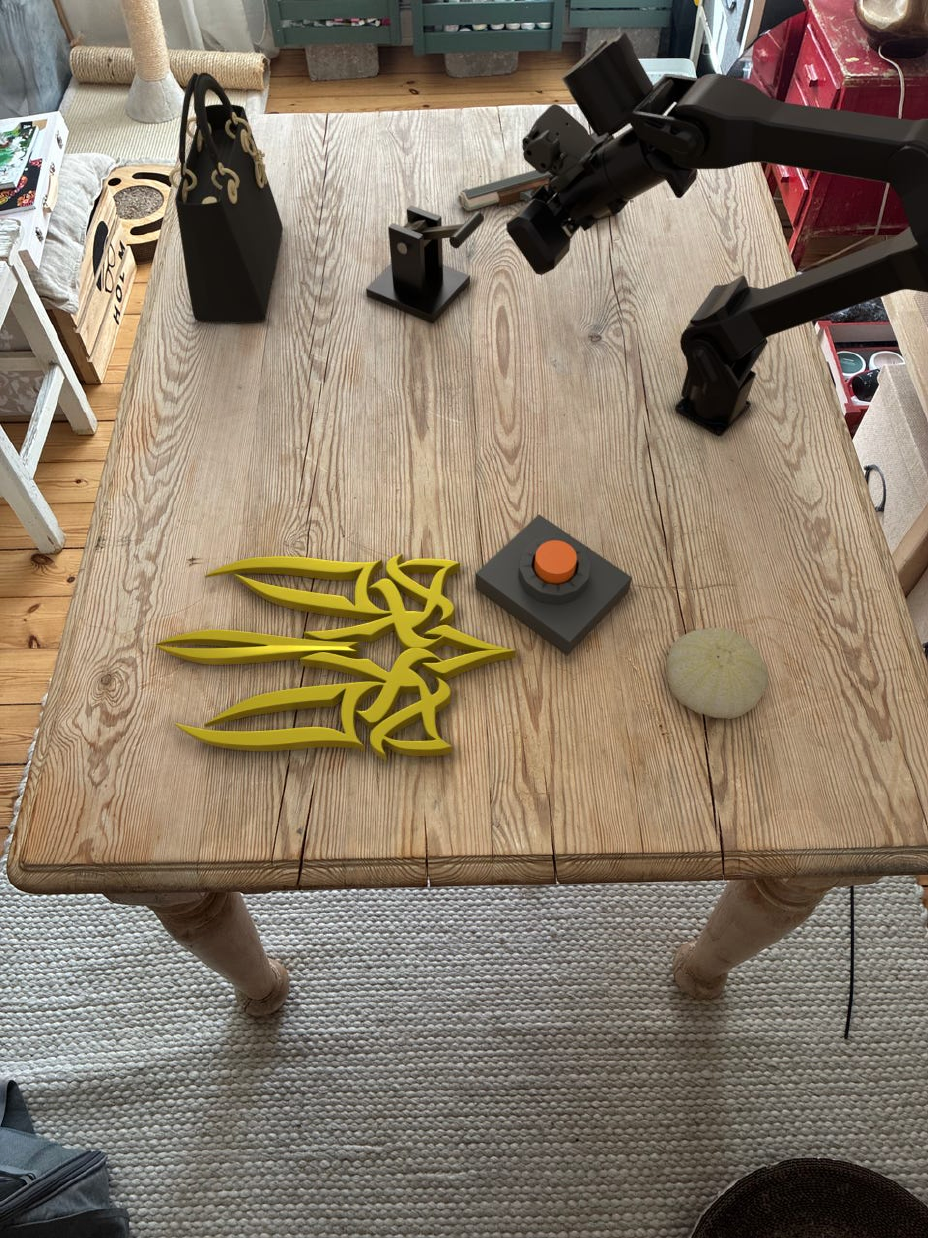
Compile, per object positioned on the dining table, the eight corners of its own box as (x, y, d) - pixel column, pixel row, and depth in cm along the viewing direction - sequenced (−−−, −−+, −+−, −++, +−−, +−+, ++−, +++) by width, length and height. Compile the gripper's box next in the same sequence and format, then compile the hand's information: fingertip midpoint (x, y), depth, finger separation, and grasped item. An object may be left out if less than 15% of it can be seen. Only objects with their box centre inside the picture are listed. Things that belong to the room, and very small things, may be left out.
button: (583, 565, 92) (585, 555, 90) (557, 591, 90) (559, 580, 88) (551, 543, 93) (553, 533, 91) (526, 568, 91) (527, 558, 90)
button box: (628, 592, 95) (635, 566, 91) (567, 656, 91) (571, 632, 87) (537, 529, 99) (540, 502, 95) (475, 588, 95) (475, 562, 91)
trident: (515, 757, 83) (128, 747, 84) (514, 764, 85) (133, 754, 86) (516, 555, 95) (176, 548, 96) (515, 564, 97) (180, 557, 97)
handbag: (265, 329, 116) (220, 134, 94) (192, 328, 116) (131, 133, 94) (285, 225, 126) (248, 29, 105) (219, 224, 127) (169, 28, 105)
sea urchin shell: (745, 739, 84) (703, 676, 81) (680, 732, 91) (638, 673, 88) (792, 668, 88) (753, 605, 85) (725, 666, 94) (687, 607, 91)
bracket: (470, 282, 120) (470, 214, 112) (432, 323, 116) (430, 256, 108) (405, 257, 123) (400, 188, 115) (366, 296, 119) (358, 228, 110)
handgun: (494, 252, 123) (456, 202, 129) (623, 213, 127) (580, 166, 133) (494, 238, 121) (456, 187, 127) (625, 199, 126) (582, 151, 131)
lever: (487, 225, 109) (480, 206, 108) (463, 251, 107) (455, 232, 105) (423, 232, 116) (415, 214, 114) (398, 257, 113) (390, 238, 111)
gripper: (621, 49, 92) (519, 124, 105) (529, 143, 84) (430, 213, 96) (679, 149, 97) (574, 210, 109) (597, 247, 88) (493, 301, 101)
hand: (519, 230), depth 104 cm, fingers closed
